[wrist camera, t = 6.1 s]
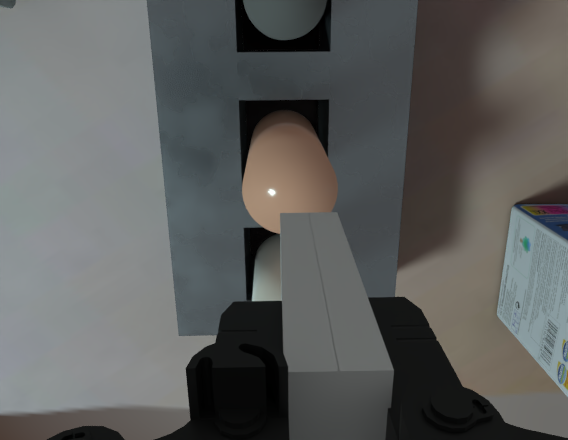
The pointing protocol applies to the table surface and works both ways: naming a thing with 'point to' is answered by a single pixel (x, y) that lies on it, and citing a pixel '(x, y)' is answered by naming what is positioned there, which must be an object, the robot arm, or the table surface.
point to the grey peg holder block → (233, 137)
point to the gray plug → (284, 16)
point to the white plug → (268, 271)
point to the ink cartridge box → (538, 285)
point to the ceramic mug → (7, 3)
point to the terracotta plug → (287, 170)
